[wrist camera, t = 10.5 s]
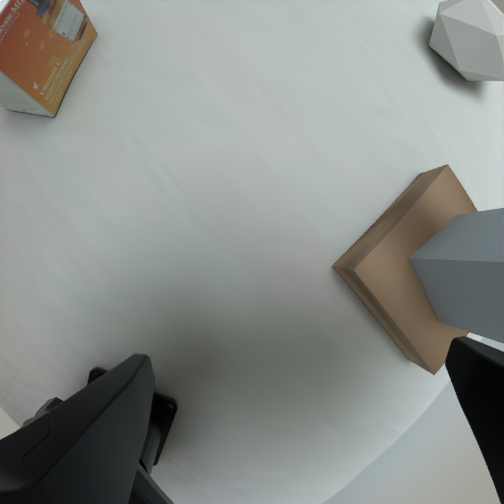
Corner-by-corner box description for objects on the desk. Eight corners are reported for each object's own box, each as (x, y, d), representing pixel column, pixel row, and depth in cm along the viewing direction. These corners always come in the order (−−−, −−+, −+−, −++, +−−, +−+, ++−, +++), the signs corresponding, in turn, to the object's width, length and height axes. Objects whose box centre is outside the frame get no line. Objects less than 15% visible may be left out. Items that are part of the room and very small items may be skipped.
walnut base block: (406, 358, 22) (434, 375, 18) (330, 265, 21) (353, 270, 17) (477, 269, 23) (509, 272, 19) (416, 174, 22) (447, 164, 18)
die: (486, 68, 23) (496, -8, 15) (518, 113, 19) (540, 21, 11) (419, 56, 25) (421, -26, 17) (441, 97, 21) (451, -7, 13)
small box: (55, 119, 19) (-27, 55, 8) (7, 111, 18) (-71, 60, 8) (100, 32, 19) (55, -54, 8) (50, 31, 18) (-2, -39, 8)
